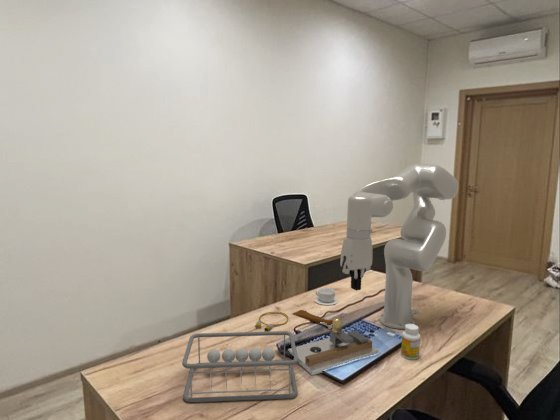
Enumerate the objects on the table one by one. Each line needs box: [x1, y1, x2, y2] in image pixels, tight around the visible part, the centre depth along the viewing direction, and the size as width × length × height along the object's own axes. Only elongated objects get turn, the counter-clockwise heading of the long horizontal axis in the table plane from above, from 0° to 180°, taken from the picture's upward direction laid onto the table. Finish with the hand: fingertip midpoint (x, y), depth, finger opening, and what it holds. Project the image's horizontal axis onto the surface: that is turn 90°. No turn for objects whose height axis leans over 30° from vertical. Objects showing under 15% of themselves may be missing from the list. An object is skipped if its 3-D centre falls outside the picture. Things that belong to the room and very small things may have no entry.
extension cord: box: [254, 311, 289, 332], centre depth 150 cm, size 12×16×2 cm
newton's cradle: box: [181, 330, 299, 403], centre depth 111 cm, size 30×10×18 cm
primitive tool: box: [292, 309, 333, 325], centre depth 152 cm, size 19×6×4 cm, turn 42°
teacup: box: [314, 287, 339, 306], centre depth 170 cm, size 10×10×5 cm
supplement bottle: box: [400, 323, 421, 360], centre depth 126 cm, size 5×5×10 cm
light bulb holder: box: [329, 316, 353, 345], centre depth 127 cm, size 3×8×8 cm, turn 29°
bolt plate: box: [287, 330, 380, 376], centre depth 127 cm, size 25×14×4 cm, turn 119°
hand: (355, 288), depth 131 cm, fingers closed
